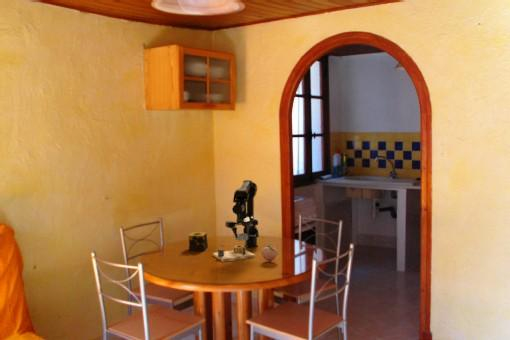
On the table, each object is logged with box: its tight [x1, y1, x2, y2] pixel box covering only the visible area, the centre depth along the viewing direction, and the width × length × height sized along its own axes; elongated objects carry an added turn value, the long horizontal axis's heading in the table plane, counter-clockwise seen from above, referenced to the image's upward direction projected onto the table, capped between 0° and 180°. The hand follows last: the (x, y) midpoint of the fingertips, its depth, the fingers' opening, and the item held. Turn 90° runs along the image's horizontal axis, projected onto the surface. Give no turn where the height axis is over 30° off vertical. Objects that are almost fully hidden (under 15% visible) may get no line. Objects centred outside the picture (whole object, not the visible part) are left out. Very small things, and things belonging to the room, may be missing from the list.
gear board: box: [212, 244, 256, 263], centre depth 289 cm, size 20×16×5 cm
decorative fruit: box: [261, 244, 279, 263], centre depth 276 cm, size 9×8×10 cm
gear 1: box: [235, 232, 248, 242], centre depth 288 cm, size 7×7×3 cm
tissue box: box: [188, 231, 209, 252], centre depth 308 cm, size 10×10×10 cm
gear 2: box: [232, 244, 246, 253], centre depth 295 cm, size 7×7×3 cm
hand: (242, 237), depth 288 cm, fingers closed on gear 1, 7 cm apart
